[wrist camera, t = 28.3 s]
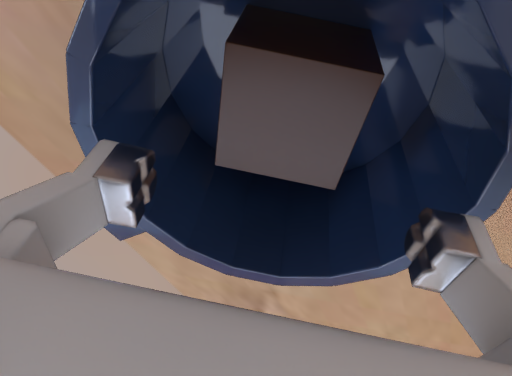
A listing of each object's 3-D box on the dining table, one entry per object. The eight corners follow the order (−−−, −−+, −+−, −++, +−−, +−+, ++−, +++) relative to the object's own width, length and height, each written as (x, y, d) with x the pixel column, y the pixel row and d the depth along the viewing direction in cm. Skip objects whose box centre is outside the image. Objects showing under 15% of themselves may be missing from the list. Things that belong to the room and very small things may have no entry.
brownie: (371, 29, 15) (385, 74, 12) (333, 134, 19) (335, 190, 15) (246, 3, 15) (225, 41, 12) (233, 113, 19) (214, 165, 15)
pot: (552, 107, 17) (666, 224, 11) (219, 218, 25) (191, 313, 20) (513, -346, 9) (819, -690, 3) (56, 39, 18) (-62, 114, 12)
